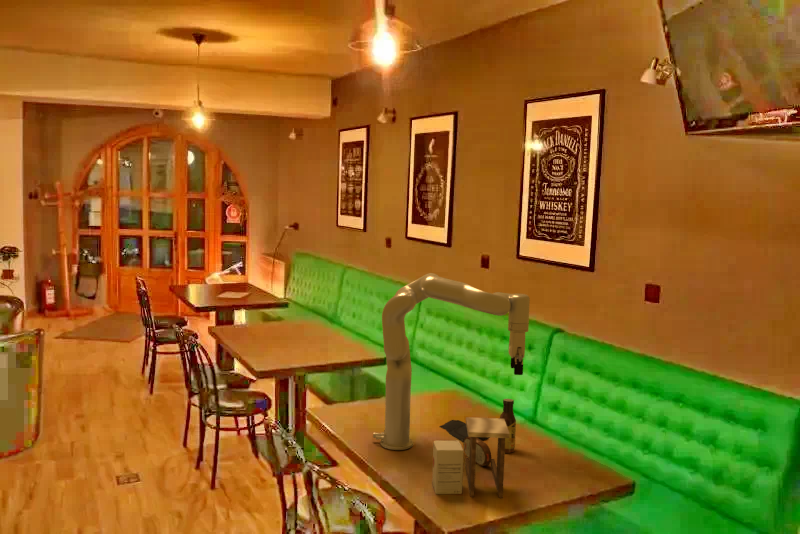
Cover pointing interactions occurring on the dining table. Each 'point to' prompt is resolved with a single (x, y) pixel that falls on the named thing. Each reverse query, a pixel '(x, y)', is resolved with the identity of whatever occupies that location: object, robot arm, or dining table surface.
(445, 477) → the supplement box
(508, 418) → the sauce bottle
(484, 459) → the tin
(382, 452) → the dining table surface
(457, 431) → the dark slate chunk
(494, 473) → the miniature wooden stool
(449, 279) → the robot arm
